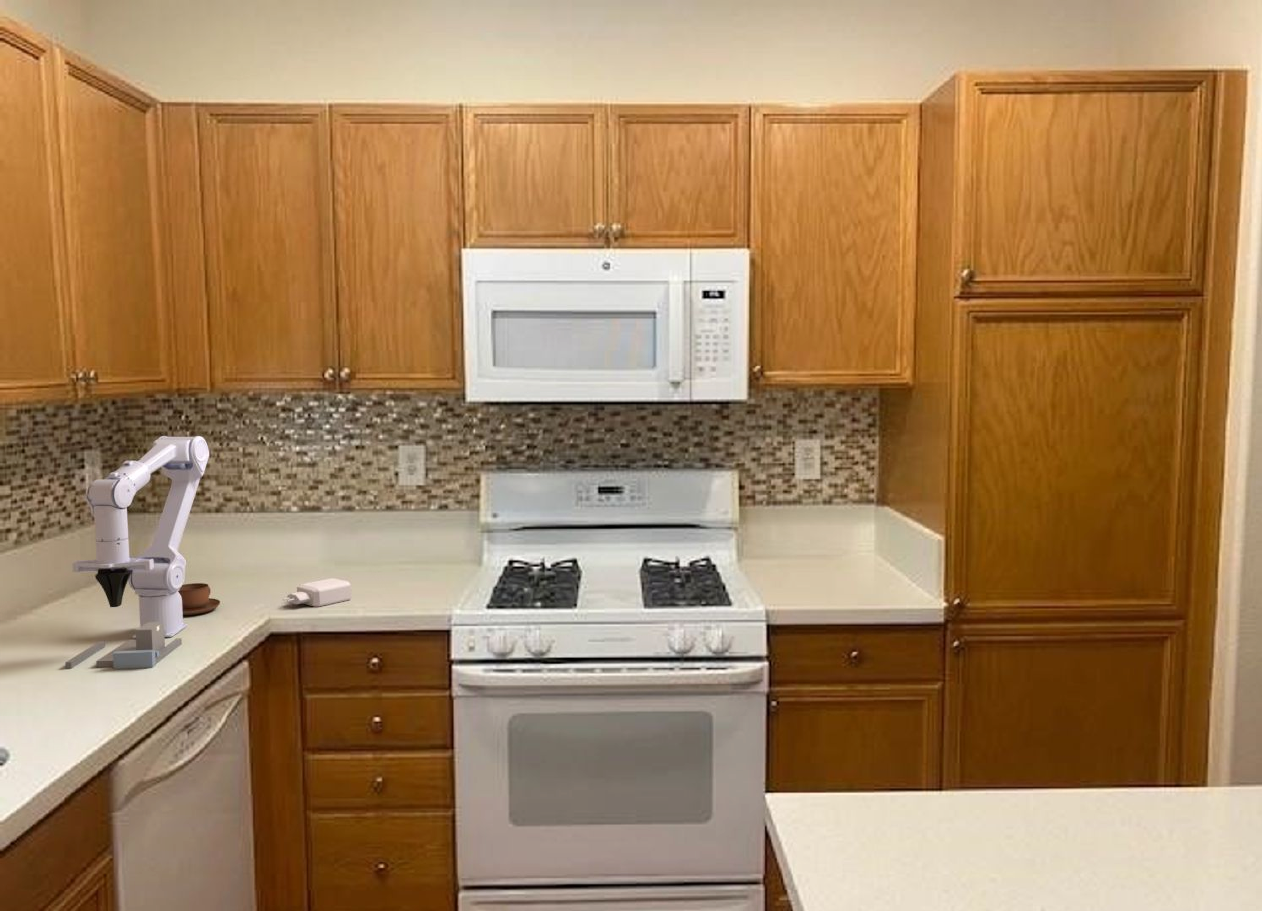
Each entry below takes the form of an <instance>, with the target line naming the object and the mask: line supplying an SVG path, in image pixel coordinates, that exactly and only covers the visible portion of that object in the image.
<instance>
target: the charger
mask: <svg viewBox="0 0 1262 911" xmlns="http://www.w3.org/2000/svg"><path fill="white" fill-rule="evenodd" d="M351 599H352V587H351V583H350V582H349V581H348V580H342V579H338V578H334V577H333V578H332V577H331V578H326V579H321V580H316V581H310V582H305V583H301V584H298V585H297V587H296V592H292V593H289V594H288V595H287V596H286V598H282V601H286V602H289V603H290V604H294V605H299V604H303V605H308V606H311V607H315V608H320V607H324V606H328V605H334V604H338V603H342V602H346V601H350V600H351Z"/></svg>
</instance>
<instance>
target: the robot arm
mask: <svg viewBox="0 0 1262 911" xmlns="http://www.w3.org/2000/svg"><path fill="white" fill-rule="evenodd" d="M209 458H210V451H209V445H208V444H207V441H206V440H205V438H204V437H202V435H201V436H199V435H196V436H166V435H163V436H159V438H157V439H156V440H154V441H153V442H152V447H151V449H149V451H148V452H146V453H145V454H144V455H143V456H142V457H141V458H139V460H125V461H124V462H122V466H120V467H118V468H117V469H116V470H114V471H112V472H110V473H109V474H108V476H106V477H105V478H104V479H102V478H101V479H95V480H94V481H93V482H91V483H90V484H89V486H88V487H87V490H86V494H85V495H84V496H85V501H86V503H87V505H88V506H89V508H90V515H91V517H93V519H94V520H93V521H94V535H95V536H94V538H95V539H94V540H95V553H96V554H95V555H96V559H90V560H89V559H88V560H86V559H85V560H77V561H73V562H72V573H79V572H97V573H95V575H94V577H95V580H96V581H97V582H98V584H99V585H100V587H102V590H103V591H104V594H105V596H106V598H107V601H108V604H109V608H118V607H120V606H122V603H123V598H124V597H123V596H124V592H125V589H126V586H127V585H128V584H129V588H131V589H132V590H133V591H134V594H135V595H138V606H139V607H138V610H139V624H140V625H139V627H141V626H143V625H144V624H146V623H147V622H164V629H165V630H166V632H167V633H166V635H165V636H164V638H171V637H172V638H173V636H175V635H177V633H179V632H181V631H182V630H183V629H184V628H186V627H187V626H189V625H188V623H186V622H185V623H184V615H183V611H182V598H181V595H180V594H179V592H178V591H179V589H180V588H181V586H182V585H184V583H185V579H186V578H185V577H186V565H187V561H186V559H185V558H184V556H183V555H182V554H181V553H180V552H179V548H180V545H181V542H182V538H183V535H184V532H185V529H186V525H187V523H188V520H189V516H190V514H191V509H192V506H193V504H194V500H195V497H196V493H197V491H198V488H199V483H200V480H201V478H202V477H203V476H204V473H205V470H206V467H207V463H208V460H209ZM159 469H161V470H162V472H163V474H164V476H165V477H167V478H169V479H171V486H170V488H169V490H168V495H167V497H166V500H165V503H164V506H163V509H162V512H161V515H160V518H159V521H158V524H157V527H156V530H155V533H154V536H153V539H152V542H151V545H150V546H149V547H148V548H145V549H144V550H142V551H141V552H140V553H138V554H137V555H136V556H137V557H135V558H133V557H131V558H130V545H129V544H130V543H129V542H130V541H129V525H128V510H127V508H128V507H129V506H130V505H131V504H132V502H133V500H134V496H135V495H136V494H137V492H138V491H139V490H140V489H142V488H143V487H145V486H146V485H147V484H149V483H150V480H151V475H152V473H154V472H156V471H157V470H159ZM132 638H133V639H136V633H135V634H134V635H132Z"/></svg>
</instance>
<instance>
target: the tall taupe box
mask: <svg viewBox="0 0 1262 911" xmlns="http://www.w3.org/2000/svg"><path fill="white" fill-rule="evenodd" d="M166 633H167V632H166V630H165V629H164V622H147V623H146V624H144V625H143V626H141V627H140V626H139V627H138V628H137V629H135V634H136V638H135V640H136V650H155V651H160V650H162V649H163V648H164V647H166V646H165V644H166V642H165V637H164V636H165V635H166Z"/></svg>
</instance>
